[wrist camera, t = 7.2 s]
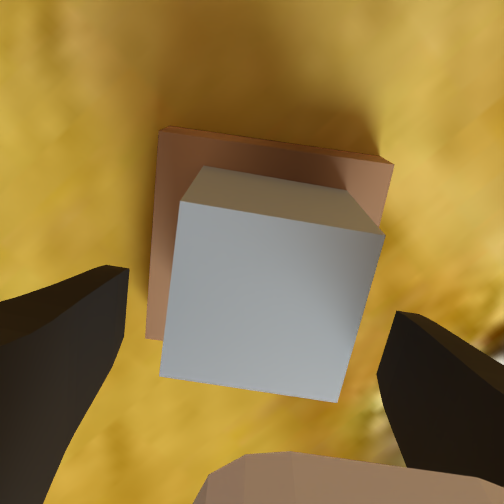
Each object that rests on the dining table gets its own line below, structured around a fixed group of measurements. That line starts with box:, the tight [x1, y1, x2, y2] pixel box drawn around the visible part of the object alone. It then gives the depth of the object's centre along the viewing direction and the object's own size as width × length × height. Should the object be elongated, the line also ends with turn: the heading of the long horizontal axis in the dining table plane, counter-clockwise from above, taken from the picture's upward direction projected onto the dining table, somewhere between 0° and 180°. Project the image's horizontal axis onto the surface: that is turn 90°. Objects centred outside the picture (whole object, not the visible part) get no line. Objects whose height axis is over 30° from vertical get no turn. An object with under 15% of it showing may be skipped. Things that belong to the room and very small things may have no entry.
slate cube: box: [159, 165, 385, 403], centre depth 14 cm, size 5×5×5 cm
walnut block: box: [145, 126, 394, 341], centre depth 18 cm, size 8×8×2 cm
